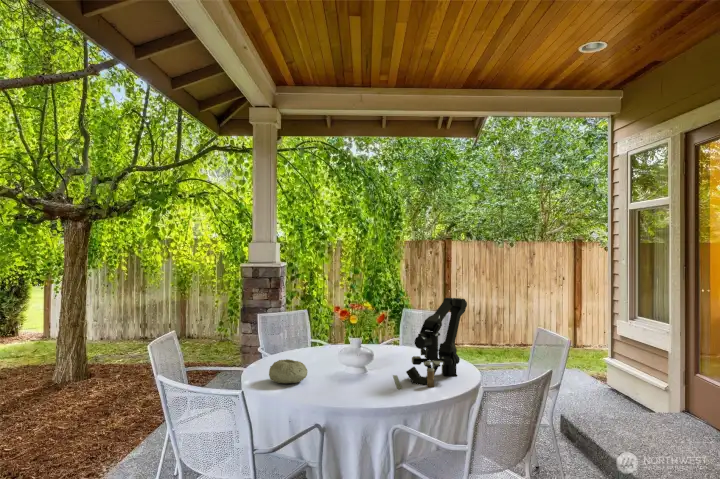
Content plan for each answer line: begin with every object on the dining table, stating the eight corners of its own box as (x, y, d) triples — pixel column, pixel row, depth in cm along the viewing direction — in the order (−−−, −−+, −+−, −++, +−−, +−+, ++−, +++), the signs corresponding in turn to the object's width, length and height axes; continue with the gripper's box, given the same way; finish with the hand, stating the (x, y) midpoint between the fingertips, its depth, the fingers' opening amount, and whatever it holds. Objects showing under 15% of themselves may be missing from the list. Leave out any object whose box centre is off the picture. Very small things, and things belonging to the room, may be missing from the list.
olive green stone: (302, 375, 224) (302, 355, 225) (311, 385, 208) (311, 363, 208) (265, 379, 218) (266, 358, 218) (272, 389, 201) (272, 366, 202)
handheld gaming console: (429, 382, 209) (416, 363, 212) (416, 391, 210) (404, 372, 213) (432, 379, 219) (420, 361, 223) (421, 387, 220) (409, 369, 224)
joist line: (397, 375, 225) (397, 375, 225) (402, 389, 203) (402, 388, 203) (393, 375, 225) (393, 375, 225) (397, 389, 203) (397, 388, 203)
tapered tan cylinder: (433, 385, 209) (433, 368, 209) (434, 387, 205) (434, 369, 206) (426, 385, 209) (426, 368, 209) (427, 387, 205) (427, 369, 205)
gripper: (447, 342, 225) (447, 374, 224) (410, 342, 224) (410, 374, 224) (452, 347, 214) (452, 380, 213) (413, 347, 213) (413, 380, 213)
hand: (431, 378), depth 216 cm, fingers closed
